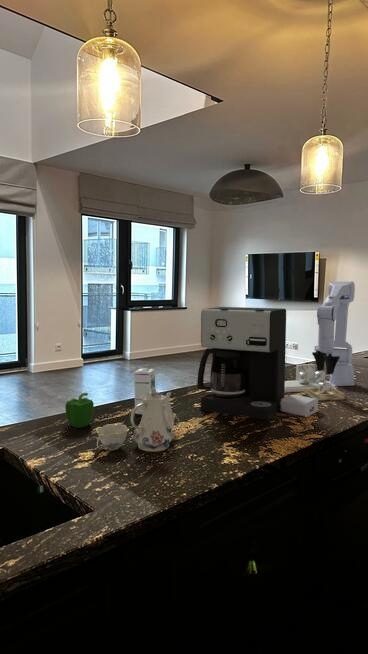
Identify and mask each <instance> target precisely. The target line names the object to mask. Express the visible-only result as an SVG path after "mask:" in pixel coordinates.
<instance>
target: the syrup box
mask: <svg viewBox="0 0 368 654" xmlns="http://www.w3.org/2000/svg"><path fill="white" fill-rule="evenodd" d="M133 382H134V384H133V385H134V388H133V389H134V407H135V406H136V405H138V404H140V403H143V401H142V398H141V397H142V396H144V395H147V394H148V392H150V391H151V389H152V387H155V388H156V369H154V368H145V367H144V368H139V369H137V370H136V371H135V370H134V371H133ZM142 406H143V405H142ZM135 414H136V415H143V410H142V409H141V406H140V407H138V409H137V410H136V412H135Z"/></svg>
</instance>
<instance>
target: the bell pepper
mask: <svg viewBox="0 0 368 654" xmlns="http://www.w3.org/2000/svg"><path fill="white" fill-rule="evenodd" d="M88 395H89V393H88V392H82V393H81V394H79V396H78V399H76V398H72V399H70V400H68V401H66V402H65V406H64V408H65V414H66V419H67V422H68V424H69V425H70V426H71V427H73V428H76V429H82V428H85V427H87V426H88V425H90V424H91V423H92V418H93V414H94V411H95V408H94V406H95V404H94V401H93V399H89V398H87V396H88ZM84 396H85V397H84Z"/></svg>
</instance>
